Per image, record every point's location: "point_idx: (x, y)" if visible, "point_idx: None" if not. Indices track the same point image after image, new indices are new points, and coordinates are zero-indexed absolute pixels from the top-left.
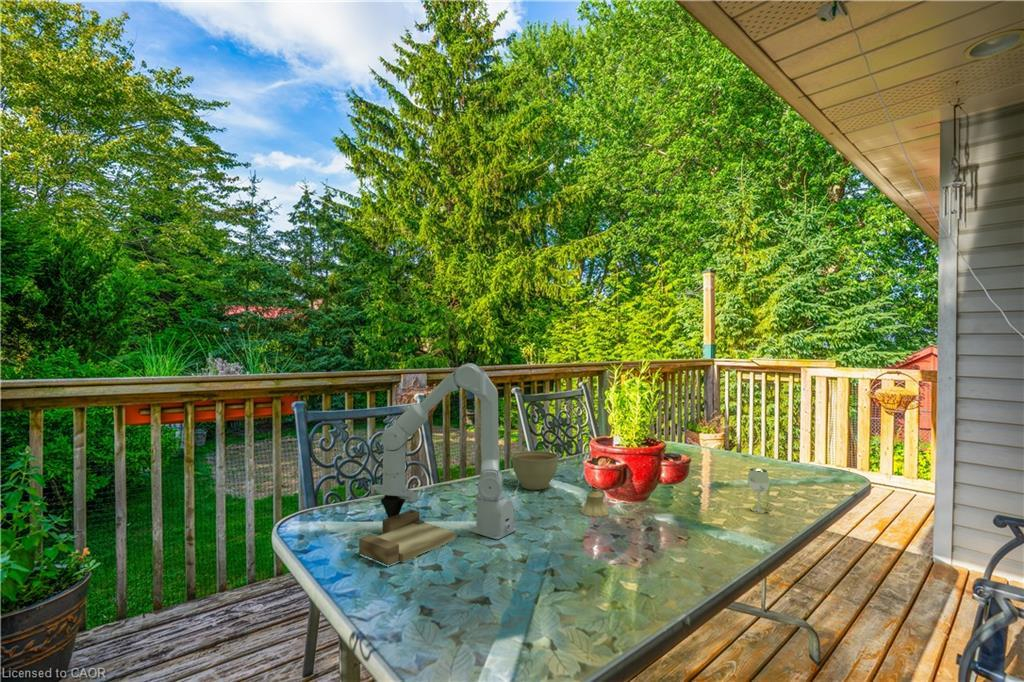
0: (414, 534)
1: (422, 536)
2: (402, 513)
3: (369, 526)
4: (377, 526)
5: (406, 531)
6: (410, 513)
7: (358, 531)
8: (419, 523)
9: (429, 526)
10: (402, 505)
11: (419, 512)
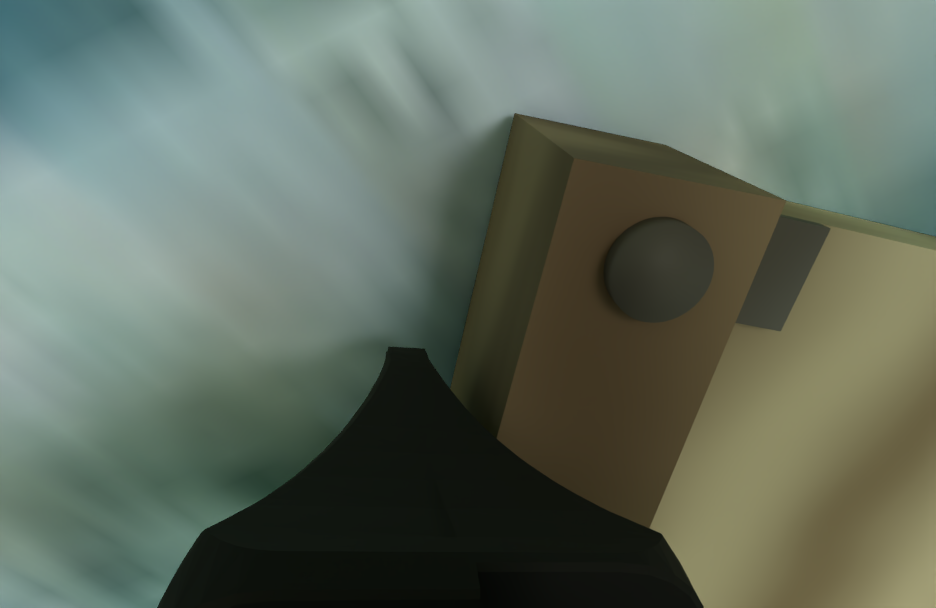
0: (830, 557)
1: (925, 560)
2: (532, 409)
3: (28, 381)
4: (120, 339)
5: (718, 540)
6: (666, 355)
7: (66, 535)
8: (782, 318)
9: (928, 319)
10: (549, 484)
11: (776, 202)
